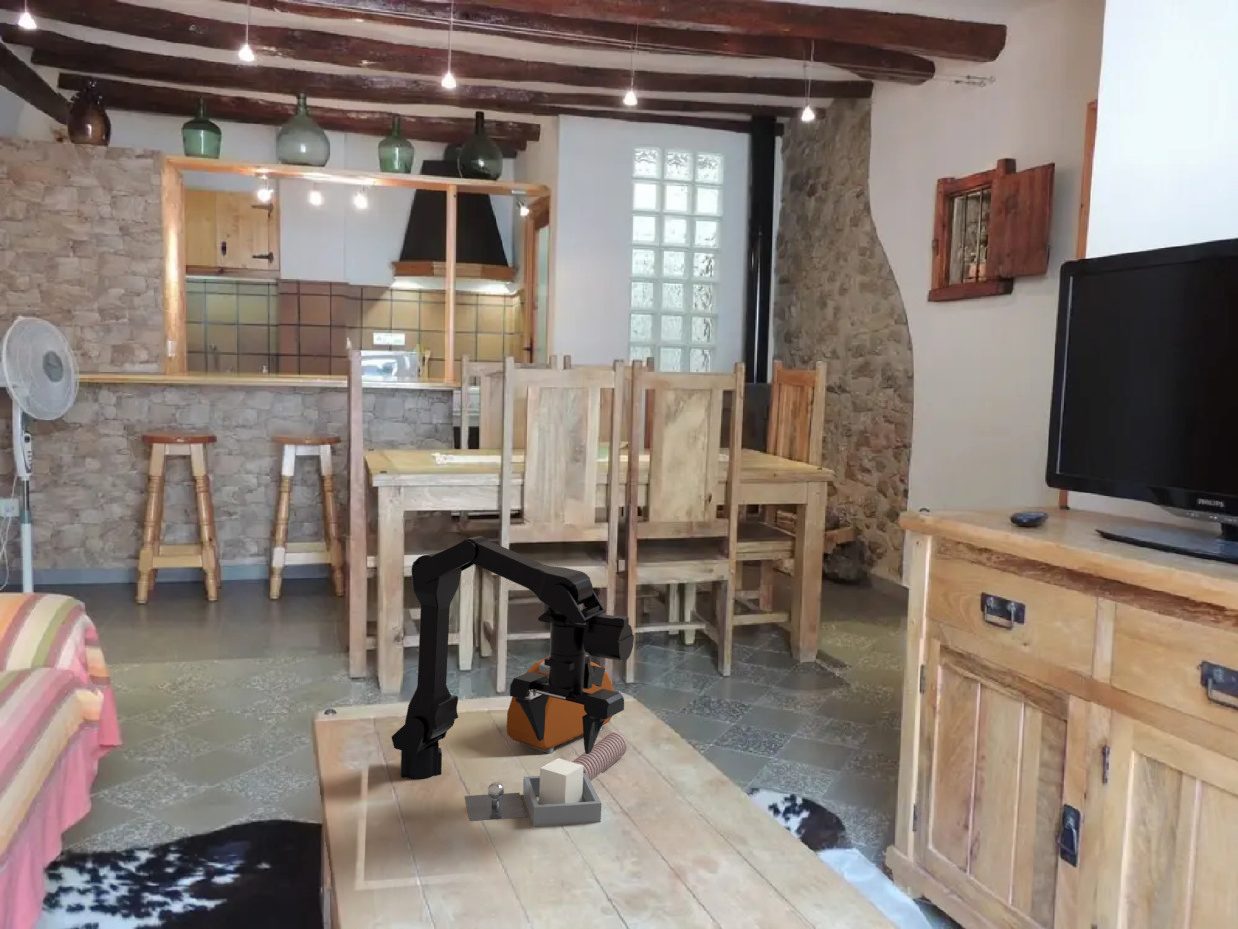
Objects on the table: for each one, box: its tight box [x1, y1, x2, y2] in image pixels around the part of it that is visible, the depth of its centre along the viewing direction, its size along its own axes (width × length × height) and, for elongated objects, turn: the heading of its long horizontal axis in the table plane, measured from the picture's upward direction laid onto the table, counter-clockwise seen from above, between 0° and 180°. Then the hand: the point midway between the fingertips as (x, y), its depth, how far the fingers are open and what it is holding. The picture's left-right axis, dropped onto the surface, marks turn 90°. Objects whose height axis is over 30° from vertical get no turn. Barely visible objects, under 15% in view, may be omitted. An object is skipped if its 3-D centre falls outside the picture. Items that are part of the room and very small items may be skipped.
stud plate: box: [464, 781, 528, 822], centre depth 152 cm, size 9×9×5 cm
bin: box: [522, 773, 602, 827], centre depth 153 cm, size 11×12×4 cm
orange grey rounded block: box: [506, 654, 615, 754], centre depth 186 cm, size 23×9×17 cm, turn 144°
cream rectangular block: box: [538, 757, 584, 805], centre depth 152 cm, size 5×5×7 cm
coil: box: [571, 732, 628, 782], centre depth 170 cm, size 5×5×18 cm
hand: (564, 746), depth 152 cm, fingers open, 9 cm apart
